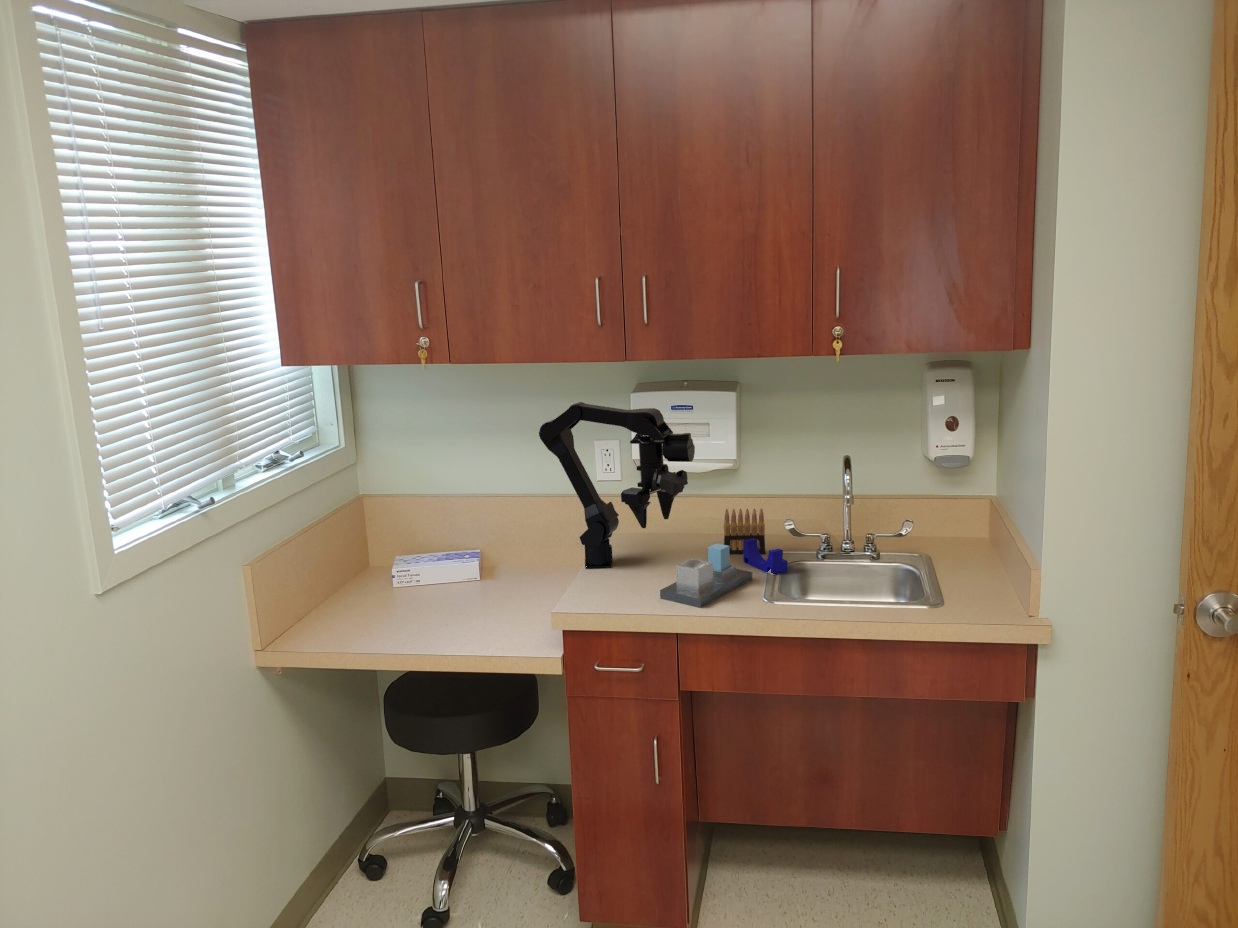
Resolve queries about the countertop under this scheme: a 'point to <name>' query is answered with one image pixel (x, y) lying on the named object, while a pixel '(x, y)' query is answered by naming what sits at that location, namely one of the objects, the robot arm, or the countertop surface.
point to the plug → (719, 556)
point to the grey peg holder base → (703, 583)
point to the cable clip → (757, 561)
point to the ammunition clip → (744, 531)
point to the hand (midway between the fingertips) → (655, 523)
